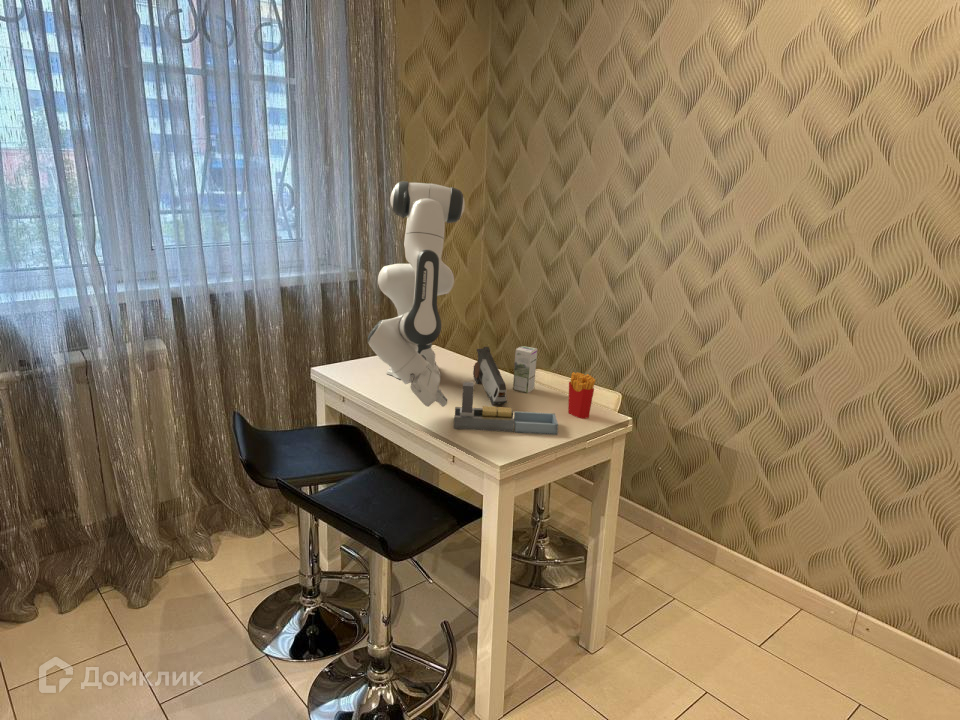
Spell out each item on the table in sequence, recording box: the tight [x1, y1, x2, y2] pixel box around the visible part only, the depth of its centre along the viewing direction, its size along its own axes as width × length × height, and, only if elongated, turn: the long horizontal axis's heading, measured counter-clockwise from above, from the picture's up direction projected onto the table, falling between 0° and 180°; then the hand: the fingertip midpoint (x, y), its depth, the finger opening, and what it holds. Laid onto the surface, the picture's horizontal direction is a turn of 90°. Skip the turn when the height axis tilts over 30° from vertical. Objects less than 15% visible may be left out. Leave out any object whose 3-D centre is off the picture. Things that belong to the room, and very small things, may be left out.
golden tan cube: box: [482, 405, 498, 418], centre depth 199 cm, size 4×4×4 cm
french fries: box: [567, 371, 597, 420], centre depth 210 cm, size 9×4×13 cm, turn 38°
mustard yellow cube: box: [496, 406, 513, 418], centre depth 199 cm, size 4×4×4 cm
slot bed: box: [453, 406, 515, 433], centre depth 199 cm, size 8×17×4 cm, turn 90°
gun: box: [472, 346, 508, 405], centre depth 226 cm, size 5×27×15 cm, turn 16°
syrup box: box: [512, 345, 538, 394], centre depth 230 cm, size 6×6×14 cm
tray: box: [513, 410, 559, 436], centre depth 200 cm, size 9×12×3 cm
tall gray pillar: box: [460, 381, 475, 416], centre depth 198 cm, size 4×4×11 cm
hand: (445, 403), depth 198 cm, fingers closed
